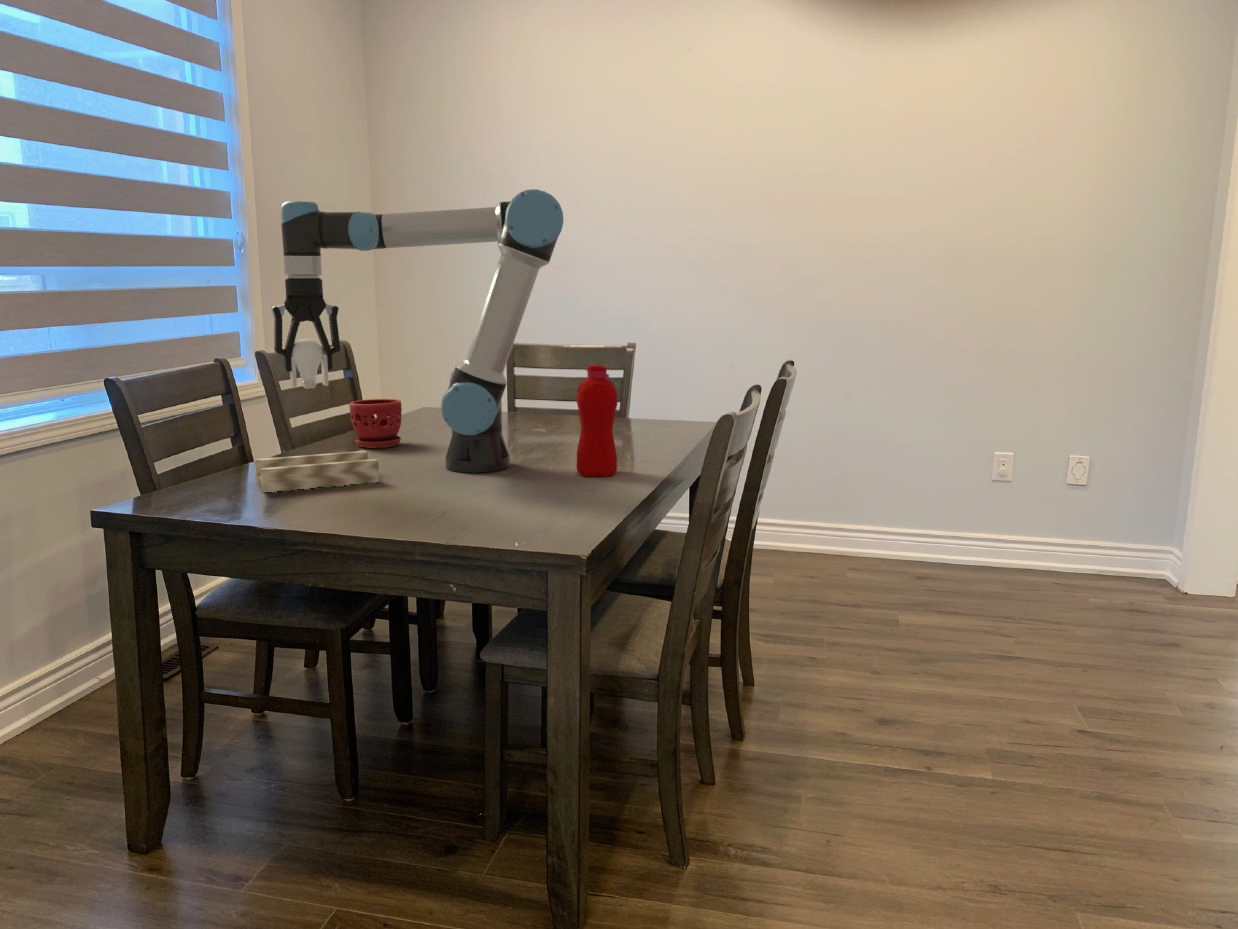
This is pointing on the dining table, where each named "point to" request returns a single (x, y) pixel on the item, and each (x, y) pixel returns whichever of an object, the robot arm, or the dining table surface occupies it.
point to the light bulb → (307, 360)
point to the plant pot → (376, 422)
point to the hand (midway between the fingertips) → (309, 385)
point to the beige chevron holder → (315, 471)
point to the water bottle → (597, 423)
